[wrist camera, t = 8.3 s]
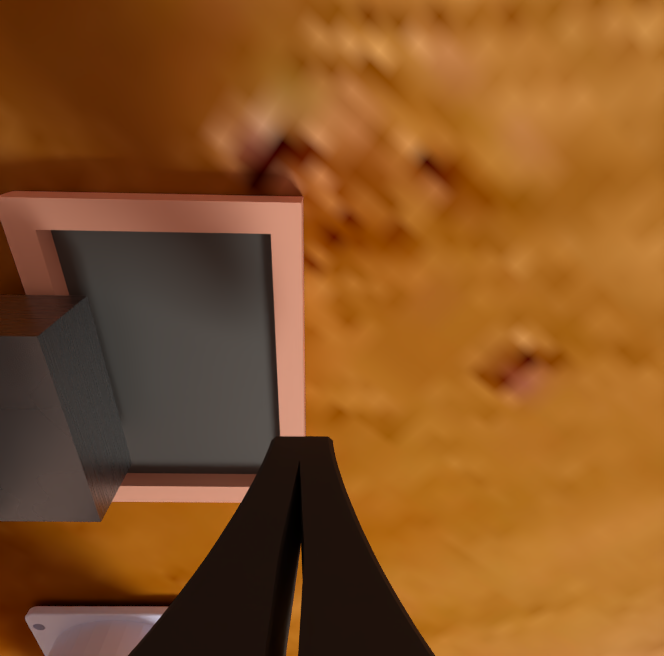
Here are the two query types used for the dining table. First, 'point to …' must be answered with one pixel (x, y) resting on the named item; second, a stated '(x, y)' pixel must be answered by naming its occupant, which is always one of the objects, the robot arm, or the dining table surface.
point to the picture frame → (180, 323)
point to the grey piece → (56, 413)
